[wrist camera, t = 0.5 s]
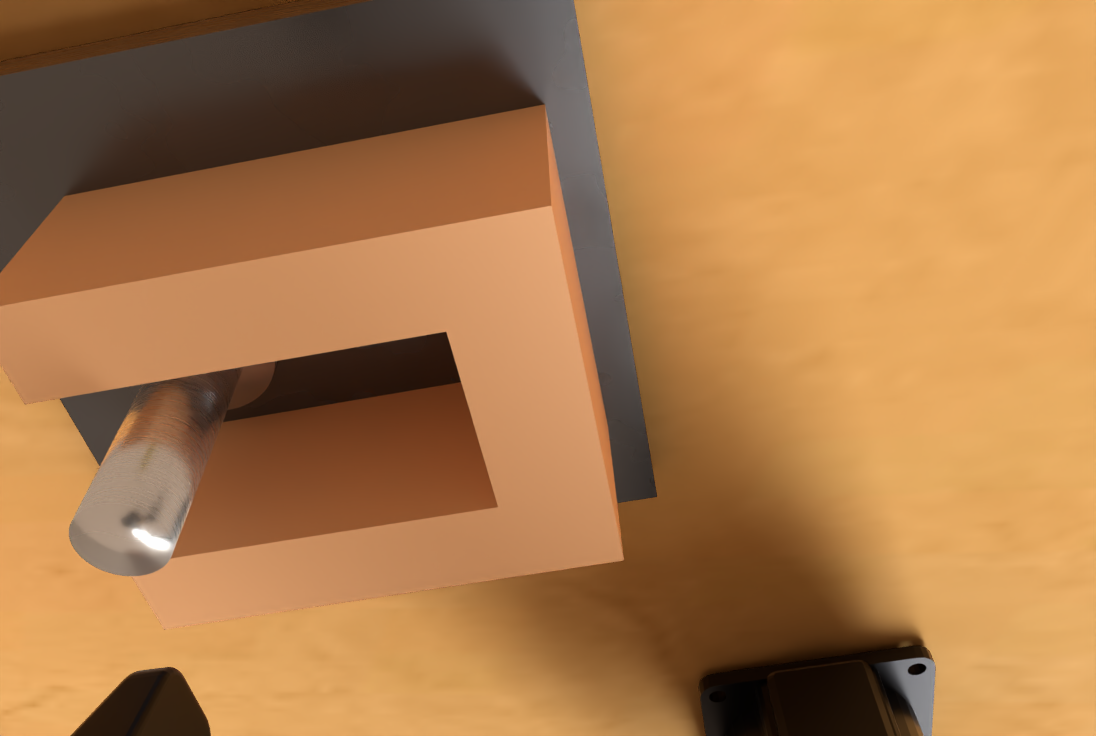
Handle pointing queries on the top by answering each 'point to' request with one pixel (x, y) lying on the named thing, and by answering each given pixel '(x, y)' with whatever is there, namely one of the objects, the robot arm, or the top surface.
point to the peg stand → (280, 128)
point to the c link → (335, 324)
